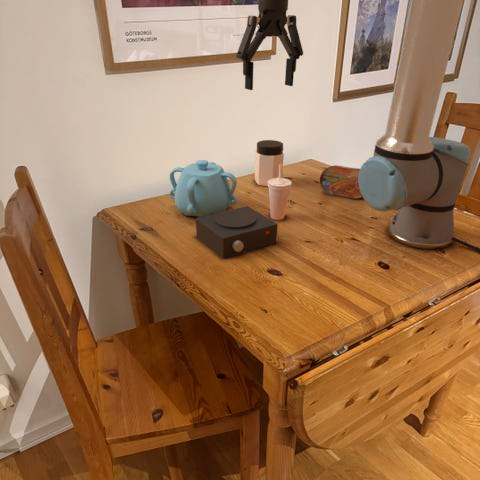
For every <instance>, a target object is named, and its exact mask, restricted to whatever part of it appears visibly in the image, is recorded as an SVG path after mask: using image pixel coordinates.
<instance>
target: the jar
mask: <svg viewBox="0 0 480 480" xmlns="http://www.w3.org/2000/svg"><path fill="white" fill-rule="evenodd" d="M284 157H285V153H284V143H283V142H281V141H279V140H275V139H263V140H260V141H257V142H256V150H255V157H254V158H255V159H254V181H255V183H256V184H257V185H258V186H262V187H268V186H267V184H268V180H270V179H273V178H279V165H280V164H282V168H281V178H283V171H284Z"/></svg>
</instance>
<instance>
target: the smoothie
mask: <svg viewBox="0 0 480 480" xmlns="http://www.w3.org/2000/svg"><path fill="white" fill-rule="evenodd" d="M281 168H282V164H280V165H279V178H273V179H270V180H268V184H267V186H266V187H268V198H269V199H268V201H269V214H270V218H271V220H276V221H281V220H283V219H285V215H286V210H287V206H288V201H289V197H290V196H289V195H290V191H291V188H292V186H293V182H292V181H291V180H290V179H288V178H284V177H282V178H281Z"/></svg>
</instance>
